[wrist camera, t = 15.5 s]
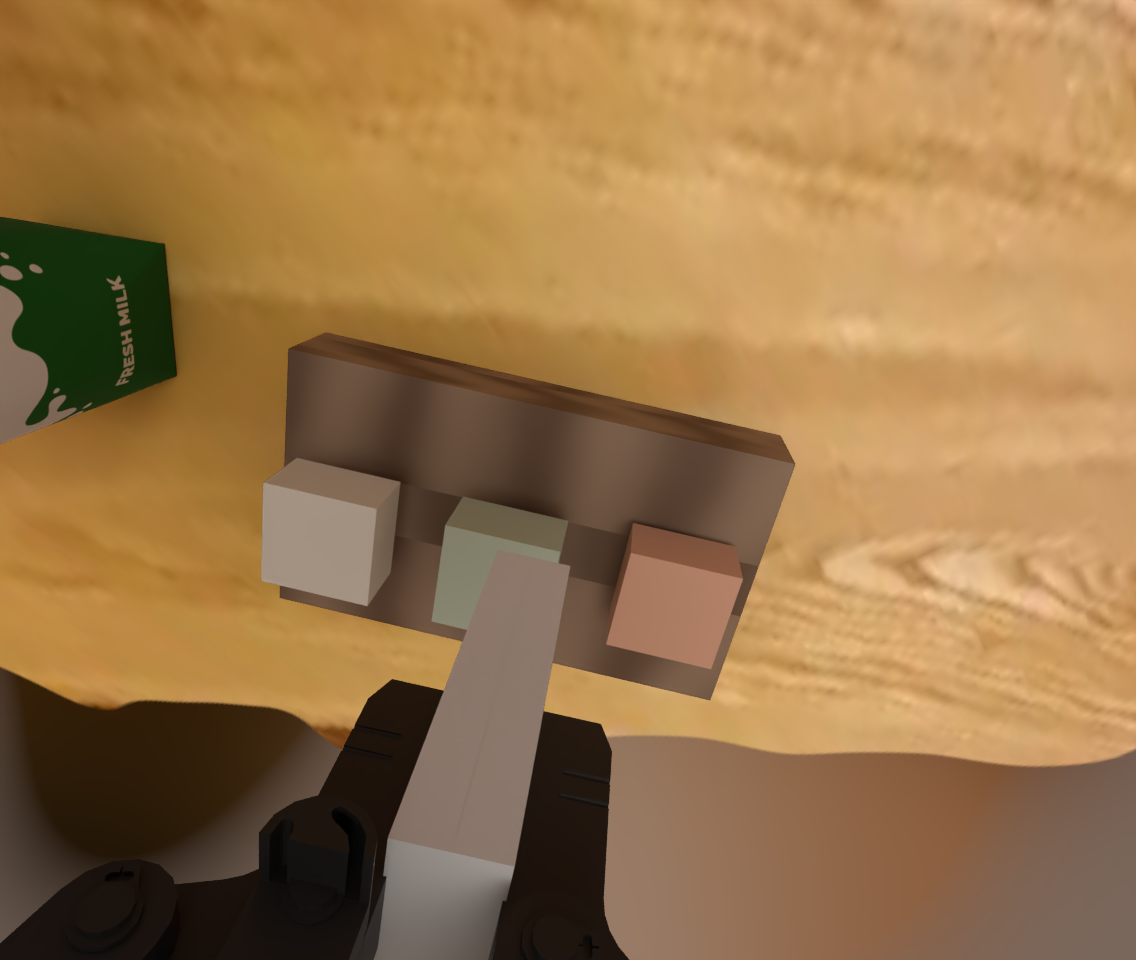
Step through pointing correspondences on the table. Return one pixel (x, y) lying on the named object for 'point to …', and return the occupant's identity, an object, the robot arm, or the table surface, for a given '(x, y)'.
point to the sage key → (487, 552)
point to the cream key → (328, 530)
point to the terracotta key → (673, 596)
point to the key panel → (531, 482)
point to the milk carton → (77, 322)
